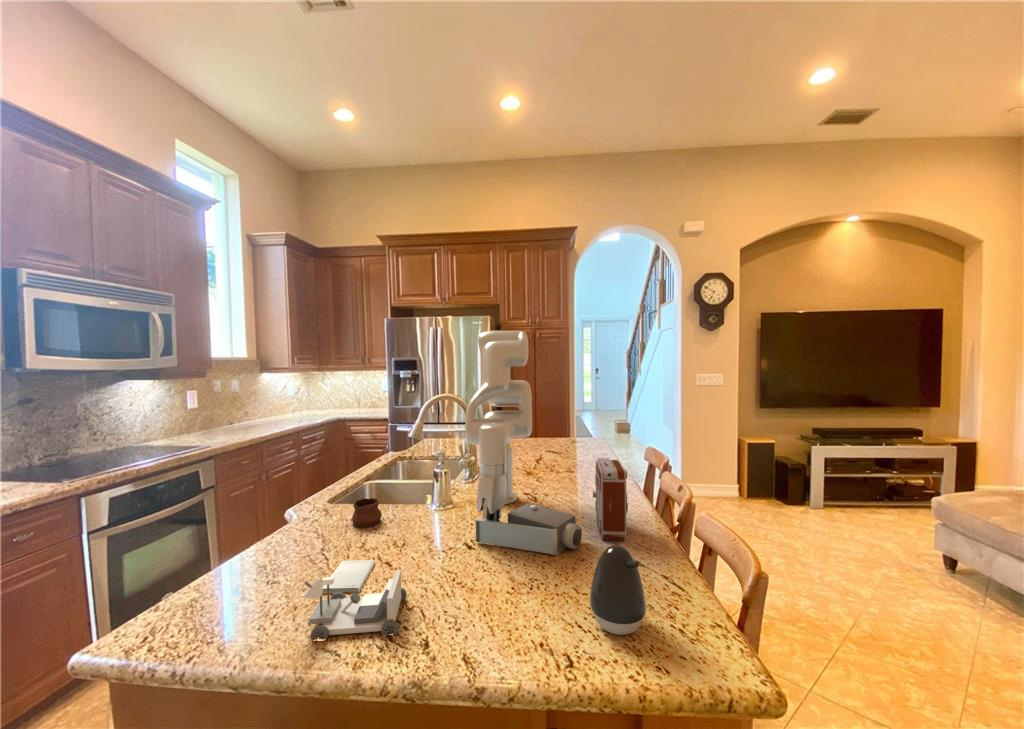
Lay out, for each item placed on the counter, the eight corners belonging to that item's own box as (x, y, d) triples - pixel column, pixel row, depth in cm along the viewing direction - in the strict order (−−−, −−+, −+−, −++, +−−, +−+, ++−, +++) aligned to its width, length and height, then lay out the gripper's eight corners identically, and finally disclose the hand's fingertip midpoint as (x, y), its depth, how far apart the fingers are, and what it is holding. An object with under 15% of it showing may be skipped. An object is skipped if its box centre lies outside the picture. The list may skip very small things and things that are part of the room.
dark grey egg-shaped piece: (616, 652, 71) (615, 565, 70) (579, 618, 80) (578, 541, 80) (658, 633, 76) (658, 551, 75) (619, 603, 85) (619, 530, 84)
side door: (475, 543, 112) (475, 519, 112) (477, 540, 113) (477, 517, 113) (556, 556, 104) (556, 531, 104) (557, 553, 106) (557, 529, 105)
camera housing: (507, 538, 116) (507, 510, 116) (528, 526, 124) (528, 500, 123) (568, 558, 104) (568, 527, 104) (587, 543, 112) (586, 515, 111)
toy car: (293, 592, 74) (317, 560, 85) (295, 646, 74) (318, 607, 85) (397, 584, 76) (406, 554, 87) (397, 637, 76) (406, 600, 87)
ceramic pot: (331, 539, 117) (332, 514, 117) (339, 516, 134) (339, 495, 134) (397, 531, 122) (398, 508, 122) (396, 511, 139) (396, 490, 139)
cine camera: (619, 516, 131) (619, 453, 130) (631, 543, 111) (631, 470, 111) (590, 515, 132) (590, 452, 131) (597, 542, 112) (596, 469, 112)
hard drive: (359, 587, 90) (375, 559, 102) (320, 588, 89) (341, 560, 102) (359, 595, 90) (375, 565, 102) (320, 596, 89) (341, 566, 102)
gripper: (493, 460, 123) (494, 521, 123) (467, 474, 109) (468, 542, 110) (516, 463, 120) (517, 526, 120) (492, 477, 106) (493, 548, 107)
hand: (493, 533), depth 115 cm, fingers closed
